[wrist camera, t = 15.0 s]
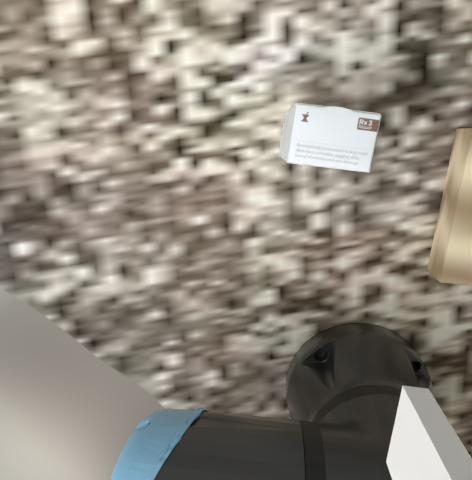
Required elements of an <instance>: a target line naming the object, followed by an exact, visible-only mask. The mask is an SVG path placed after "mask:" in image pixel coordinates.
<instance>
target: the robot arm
mask: <svg viewBox="0 0 472 480" xmlns="http://www.w3.org/2000/svg"><path fill="white" fill-rule="evenodd" d="M286 394H287V404H288V409H289V412H290V415H291V418H292V419H281V418H270V417H258V416H247V415H238V414H228V413H219V412H209V410H208V409H207V408H200V409H198V410H181V409H162V410H158V411H155V412H153V413H151V414H150V415H148V416H147V417H146V418H145V419H143V420H142V421H141V423H140V424H139V425H138V427H137V428H136V429H135V431H134V432H133V434H132V435H131V436H130V438H129V440H128V441H127V443H126V445H125V447H124V449H123V451H122V453H121V455H120V457H119V459H118V462H117V464H116V466H115V469H114V471H113V474H112V476H111V479H110V480H472V458H471V457H470V455H469V453H468V452H467V450H466V449H465V447H464V445H463V444H462V442H461V440H460V439H459V437H458V436H457V434H456V432H455V431H454V429H453V427H452V426H451V424H450V423H449V421H448V419H447V418H446V416H445V414H444V413H443V411H442V410H441V408H440V406H439V405H438V403H437V401H436V400H435V398H434V397H433V387H432V382H431V379H430V376H429V373H428V371H427V368H426V367H425V365H424V363H423V362H422V360H421V359H420V357H419V355H418V354H417V353H416V351H415V350H414V349H413V347H412V346H411V345H410V344H409V343H408V342H407V341H406V340H404V339H403V338H402V337H400V336H399V335H397V334H396V333H394V332H392V331H390V330H388V329H385V328H382V327H379V326H375V325H370V324H356V323H355V324H345V325H339V326H336V327H332V328H329V329H327V330H324V331H322V332H320V333H319V334H317V335H315V336H314V337H312V338H311V339H310V340H308V341H307V342H306V343H305V344H304V345H303V346H302V347H301V348H300V349H299V351H298V352H297V353H296V355H295V356H294V358H293V360H292V362H291V364H290V366H289V369H288V373H287V378H286Z"/></svg>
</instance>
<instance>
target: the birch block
mask: <svg viewBox="0 0 472 480" xmlns="http://www.w3.org/2000/svg"><path fill="white" fill-rule="evenodd" d="M427 271H428V272H429V273H430V274H431V275H432V276H434V277H435V278H436V279H437V280H438V281H439V282H442V283H452V284H461V285H471V286H472V128H457V129H456V133H455V138H454V143H453V147H452V152H451V157H450V162H449V167H448V172H447V176H446V181H445V186H444V191H443V196H442V201H441V205H440V210H439V215H438V220H437V225H436V229H435V234H434V239H433V244H432V249H431V254H430V258H429V263H428V268H427Z"/></svg>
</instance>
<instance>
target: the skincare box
mask: <svg viewBox="0 0 472 480" xmlns="http://www.w3.org/2000/svg"><path fill="white" fill-rule="evenodd" d="M380 121H381V114H380V113H375V112H367V111H360V110H352V109H347V108H343V107H337V106H323V105H315V104H307V103H298V102H297V103H295V104H294V105H293V106H292V107H291V108H290V110H289V111H288V112H287V113H286V114H285V118H284V125H283V131H282V137H281V143H280V150H279V156H280V157H281V158H283V159H284V160H285V161H287V163H293V164H301V165H309V166H317V167H325V168H333V169H342V170H350V171H359V172H367V173H369V172H370V169H371V164H372V159H373V154H374V149H375V144H376V140H377V135H378V130H379V126H380Z"/></svg>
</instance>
